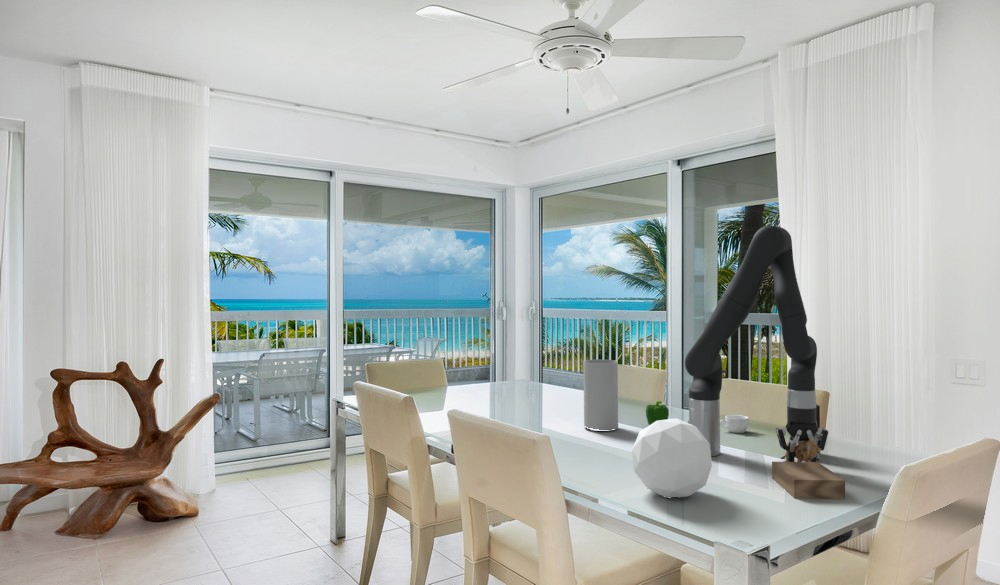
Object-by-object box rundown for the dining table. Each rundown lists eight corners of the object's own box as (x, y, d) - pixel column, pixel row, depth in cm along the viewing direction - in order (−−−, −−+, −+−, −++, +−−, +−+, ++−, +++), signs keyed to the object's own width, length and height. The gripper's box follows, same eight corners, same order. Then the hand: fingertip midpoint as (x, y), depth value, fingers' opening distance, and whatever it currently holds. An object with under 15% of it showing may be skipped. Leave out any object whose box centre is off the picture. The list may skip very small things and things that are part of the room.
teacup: (743, 429, 227) (743, 414, 227) (752, 434, 219) (751, 419, 219) (716, 429, 227) (716, 414, 227) (723, 434, 220) (723, 419, 220)
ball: (675, 529, 152) (654, 477, 142) (629, 479, 169) (608, 429, 159) (736, 486, 155) (720, 432, 145) (685, 441, 172) (668, 390, 162)
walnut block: (794, 499, 153) (794, 479, 153) (772, 479, 169) (771, 461, 169) (845, 500, 152) (845, 480, 152) (818, 480, 168) (818, 462, 168)
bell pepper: (645, 423, 238) (644, 397, 238) (667, 424, 237) (666, 398, 237) (647, 428, 230) (646, 401, 230) (670, 429, 229) (669, 402, 229)
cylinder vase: (621, 432, 225) (620, 363, 225) (586, 432, 225) (585, 363, 225) (615, 424, 237) (614, 359, 237) (582, 425, 238) (581, 359, 237)
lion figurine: (824, 473, 173) (824, 441, 173) (808, 475, 172) (807, 442, 172) (787, 459, 187) (787, 429, 187) (772, 461, 186) (772, 431, 186)
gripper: (779, 407, 175) (780, 467, 175) (833, 407, 173) (833, 469, 173) (771, 402, 182) (771, 460, 182) (822, 402, 181) (823, 461, 181)
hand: (802, 464), depth 178 cm, fingers closed on lion figurine, 4 cm apart
